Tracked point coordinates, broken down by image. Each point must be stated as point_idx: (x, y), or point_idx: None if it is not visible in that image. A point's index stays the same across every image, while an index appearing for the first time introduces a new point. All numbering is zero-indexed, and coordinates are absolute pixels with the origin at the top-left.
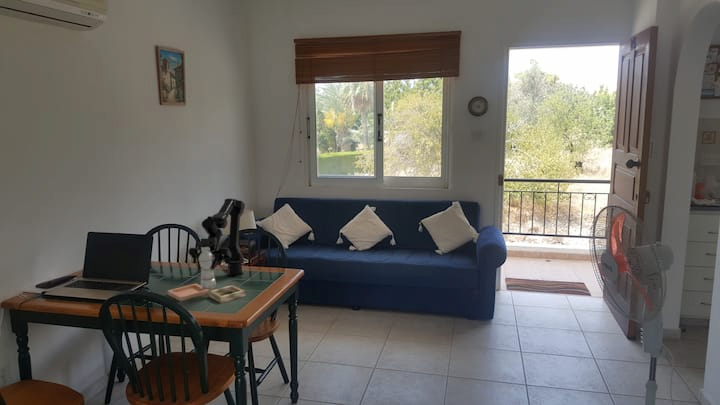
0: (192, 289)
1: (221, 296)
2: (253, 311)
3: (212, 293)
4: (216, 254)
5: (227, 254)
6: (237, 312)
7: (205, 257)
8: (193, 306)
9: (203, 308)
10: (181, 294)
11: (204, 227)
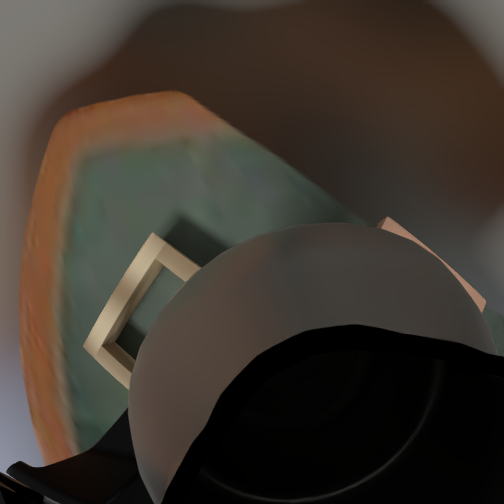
0: None
1: (156, 248)
2: (38, 185)
3: None
4: (79, 483)
5: (6, 476)
6: (76, 162)
7: (241, 244)
8: (280, 176)
9: (217, 162)
10: None
11: None
